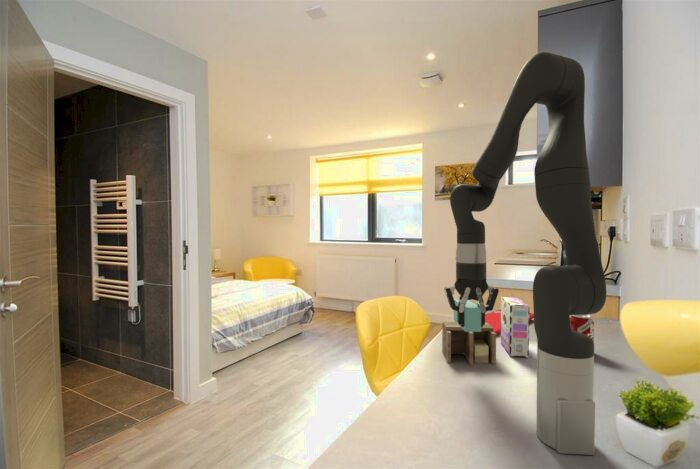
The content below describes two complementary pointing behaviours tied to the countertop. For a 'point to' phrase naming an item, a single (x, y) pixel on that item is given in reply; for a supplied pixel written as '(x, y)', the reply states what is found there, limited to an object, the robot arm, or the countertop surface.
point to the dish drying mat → (498, 320)
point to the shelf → (466, 341)
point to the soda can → (583, 325)
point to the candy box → (515, 326)
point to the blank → (470, 317)
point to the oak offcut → (480, 351)
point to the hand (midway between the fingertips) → (471, 326)
